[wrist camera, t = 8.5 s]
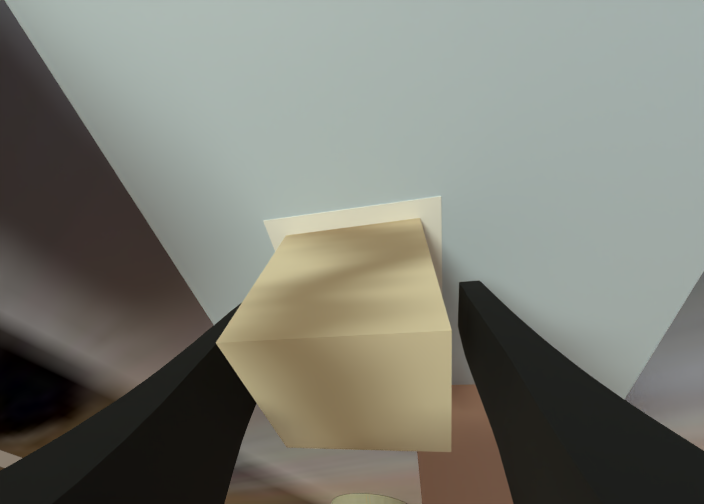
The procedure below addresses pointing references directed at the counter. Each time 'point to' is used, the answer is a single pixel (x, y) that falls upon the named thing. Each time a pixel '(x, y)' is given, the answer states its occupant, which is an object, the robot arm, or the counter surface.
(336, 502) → the reusable coffee cup
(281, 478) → the counter surface
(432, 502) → the terracotta block
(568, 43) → the pale blue flat sheet
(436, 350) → the maple block
